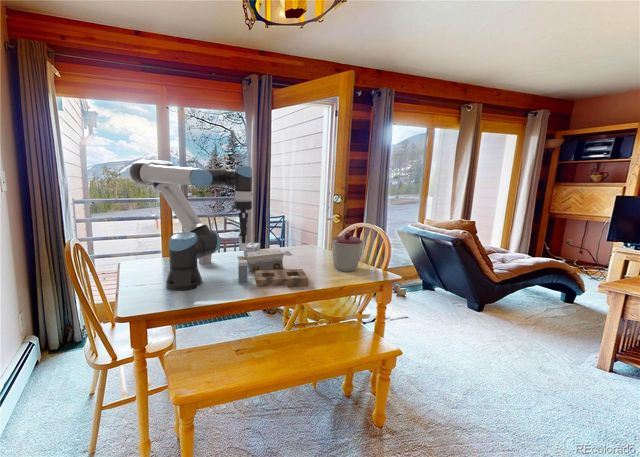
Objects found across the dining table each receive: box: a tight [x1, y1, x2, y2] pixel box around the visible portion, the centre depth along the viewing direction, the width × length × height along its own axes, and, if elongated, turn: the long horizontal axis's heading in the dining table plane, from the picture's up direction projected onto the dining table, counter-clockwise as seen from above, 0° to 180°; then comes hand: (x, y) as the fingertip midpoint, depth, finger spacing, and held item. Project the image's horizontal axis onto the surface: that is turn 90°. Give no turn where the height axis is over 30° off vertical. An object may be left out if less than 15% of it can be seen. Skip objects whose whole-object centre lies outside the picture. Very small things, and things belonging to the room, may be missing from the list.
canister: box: [330, 232, 364, 272], centre depth 183 cm, size 18×18×21 cm
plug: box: [237, 259, 248, 283], centre depth 153 cm, size 4×4×10 cm
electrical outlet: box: [236, 248, 293, 273], centre depth 175 cm, size 12×28×10 cm, turn 110°
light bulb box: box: [243, 242, 261, 266], centre depth 187 cm, size 11×7×11 cm, turn 175°
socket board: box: [254, 268, 309, 288], centre depth 158 cm, size 24×14×4 cm, turn 104°
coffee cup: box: [197, 254, 213, 265], centre depth 183 cm, size 10×10×15 cm
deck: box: [232, 277, 254, 287], centre depth 154 cm, size 9×9×1 cm
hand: (243, 246), depth 151 cm, fingers open, 13 cm apart
